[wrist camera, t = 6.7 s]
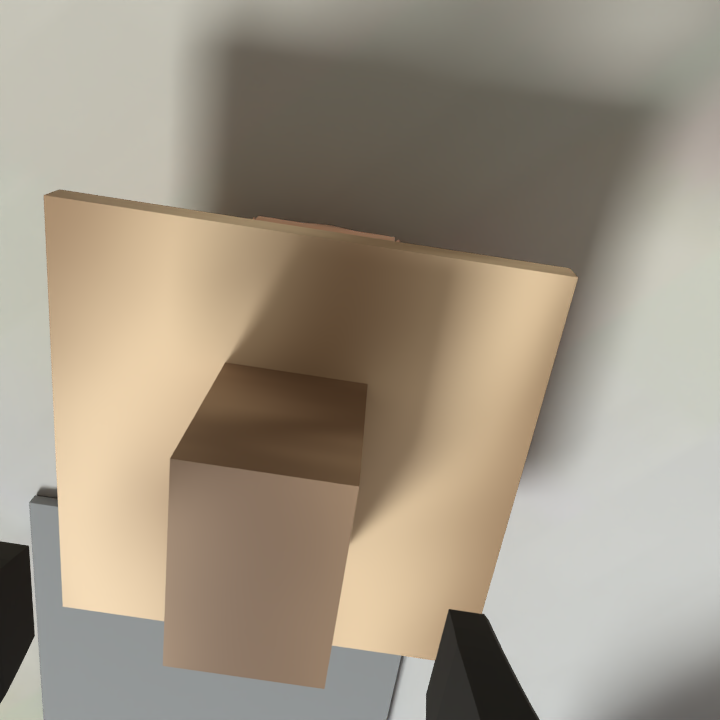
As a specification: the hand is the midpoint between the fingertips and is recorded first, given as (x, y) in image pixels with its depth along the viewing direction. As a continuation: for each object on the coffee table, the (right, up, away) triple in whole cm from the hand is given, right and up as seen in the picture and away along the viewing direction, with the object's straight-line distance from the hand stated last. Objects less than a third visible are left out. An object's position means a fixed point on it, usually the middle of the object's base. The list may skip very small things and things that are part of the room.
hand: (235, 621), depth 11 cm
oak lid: (0, +2, +5) cm, 6 cm away
